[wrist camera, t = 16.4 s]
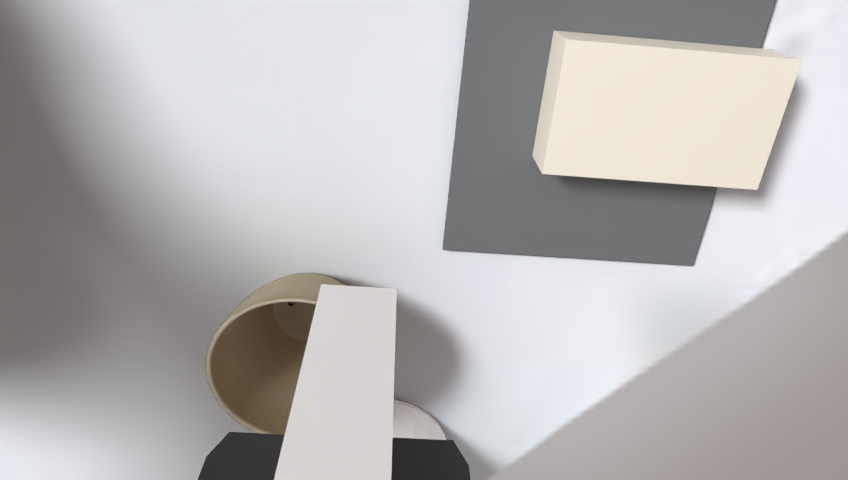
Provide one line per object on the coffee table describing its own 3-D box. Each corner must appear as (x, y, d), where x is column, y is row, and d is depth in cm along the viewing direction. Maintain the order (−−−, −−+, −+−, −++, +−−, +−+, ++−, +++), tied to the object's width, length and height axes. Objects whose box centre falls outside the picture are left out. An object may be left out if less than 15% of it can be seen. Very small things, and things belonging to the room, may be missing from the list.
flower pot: (278, 384, 44) (256, 461, 38) (209, 267, 40) (171, 332, 33) (411, 342, 43) (412, 416, 36) (355, 217, 38) (345, 275, 32)
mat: (442, 246, 39) (443, 249, 39) (487, -166, 30) (488, -167, 29) (690, 262, 40) (692, 265, 40) (812, -133, 31) (817, -133, 30)
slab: (542, 173, 34) (757, 189, 34) (566, 39, 31) (802, 59, 31) (532, 155, 36) (731, 170, 37) (553, 30, 33) (770, 49, 34)
